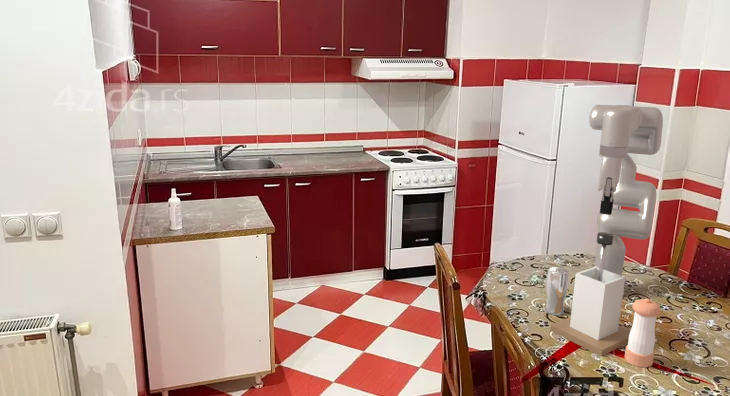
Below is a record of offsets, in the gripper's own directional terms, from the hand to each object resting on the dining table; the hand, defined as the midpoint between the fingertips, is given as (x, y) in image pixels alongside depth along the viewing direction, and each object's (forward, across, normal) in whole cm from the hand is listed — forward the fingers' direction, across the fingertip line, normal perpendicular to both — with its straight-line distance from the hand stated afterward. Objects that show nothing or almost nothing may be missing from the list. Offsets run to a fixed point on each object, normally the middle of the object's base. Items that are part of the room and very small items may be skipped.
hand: (605, 212), depth 165 cm
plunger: (+26, +3, +1) cm, 26 cm away
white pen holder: (+39, +3, +1) cm, 39 cm away
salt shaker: (+39, +13, +14) cm, 44 cm away
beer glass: (+39, -8, -12) cm, 42 cm away
